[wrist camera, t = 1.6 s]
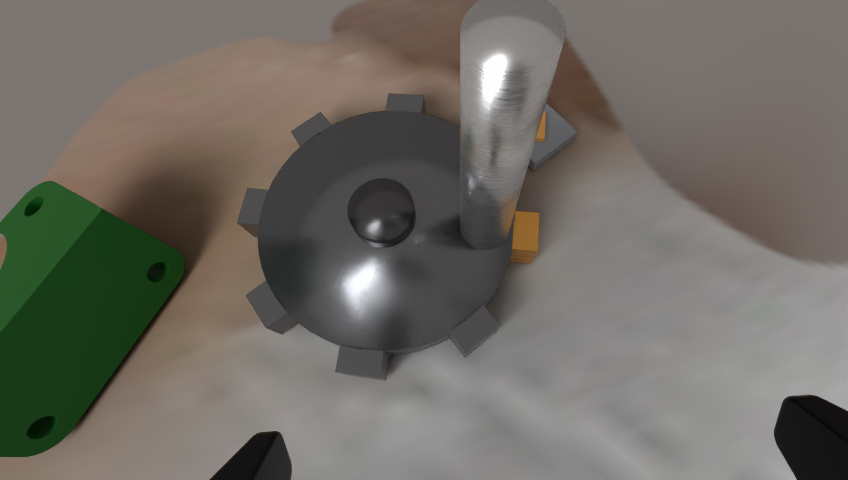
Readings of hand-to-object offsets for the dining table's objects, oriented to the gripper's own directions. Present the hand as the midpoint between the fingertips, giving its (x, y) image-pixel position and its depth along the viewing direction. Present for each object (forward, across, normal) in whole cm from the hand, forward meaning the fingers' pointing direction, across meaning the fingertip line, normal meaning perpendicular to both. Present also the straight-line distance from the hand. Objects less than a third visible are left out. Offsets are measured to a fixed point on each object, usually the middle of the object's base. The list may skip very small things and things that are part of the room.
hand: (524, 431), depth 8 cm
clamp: (+14, +21, +6) cm, 26 cm away
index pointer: (+20, -4, -1) cm, 21 cm away
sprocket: (+16, +4, +3) cm, 17 cm away
